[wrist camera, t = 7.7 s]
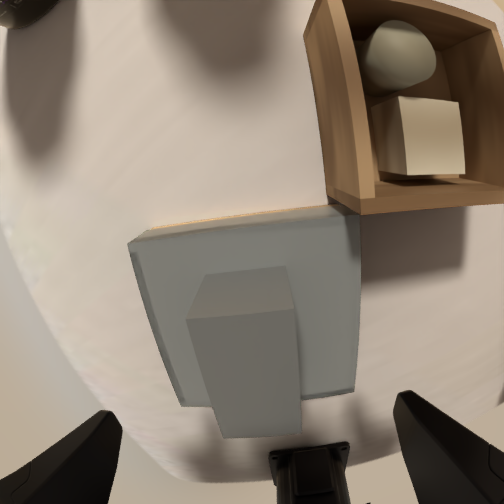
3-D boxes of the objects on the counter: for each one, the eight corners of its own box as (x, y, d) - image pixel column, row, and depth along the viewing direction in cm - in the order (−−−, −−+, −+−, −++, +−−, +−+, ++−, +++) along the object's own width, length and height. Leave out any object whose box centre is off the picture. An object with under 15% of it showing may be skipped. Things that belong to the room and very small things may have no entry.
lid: (345, 365, 16) (370, 441, 10) (189, 380, 17) (167, 455, 11) (344, 204, 13) (397, 238, 8) (146, 230, 14) (84, 275, 8)
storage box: (460, 185, 13) (522, 202, 8) (326, 194, 13) (361, 215, 9) (441, 47, 10) (494, 22, 6) (303, 35, 11) (322, -17, 6)
